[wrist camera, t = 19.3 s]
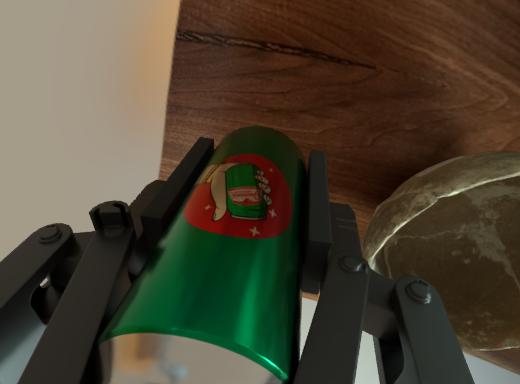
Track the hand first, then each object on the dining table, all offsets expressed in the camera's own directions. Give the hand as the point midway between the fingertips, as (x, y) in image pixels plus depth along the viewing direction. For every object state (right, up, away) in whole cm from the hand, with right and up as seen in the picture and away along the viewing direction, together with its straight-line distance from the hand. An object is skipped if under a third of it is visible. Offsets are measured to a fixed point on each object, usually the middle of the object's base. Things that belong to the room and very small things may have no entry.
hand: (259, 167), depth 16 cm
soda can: (0, 0, 0) cm, 0 cm away
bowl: (+27, -2, +27) cm, 38 cm away
